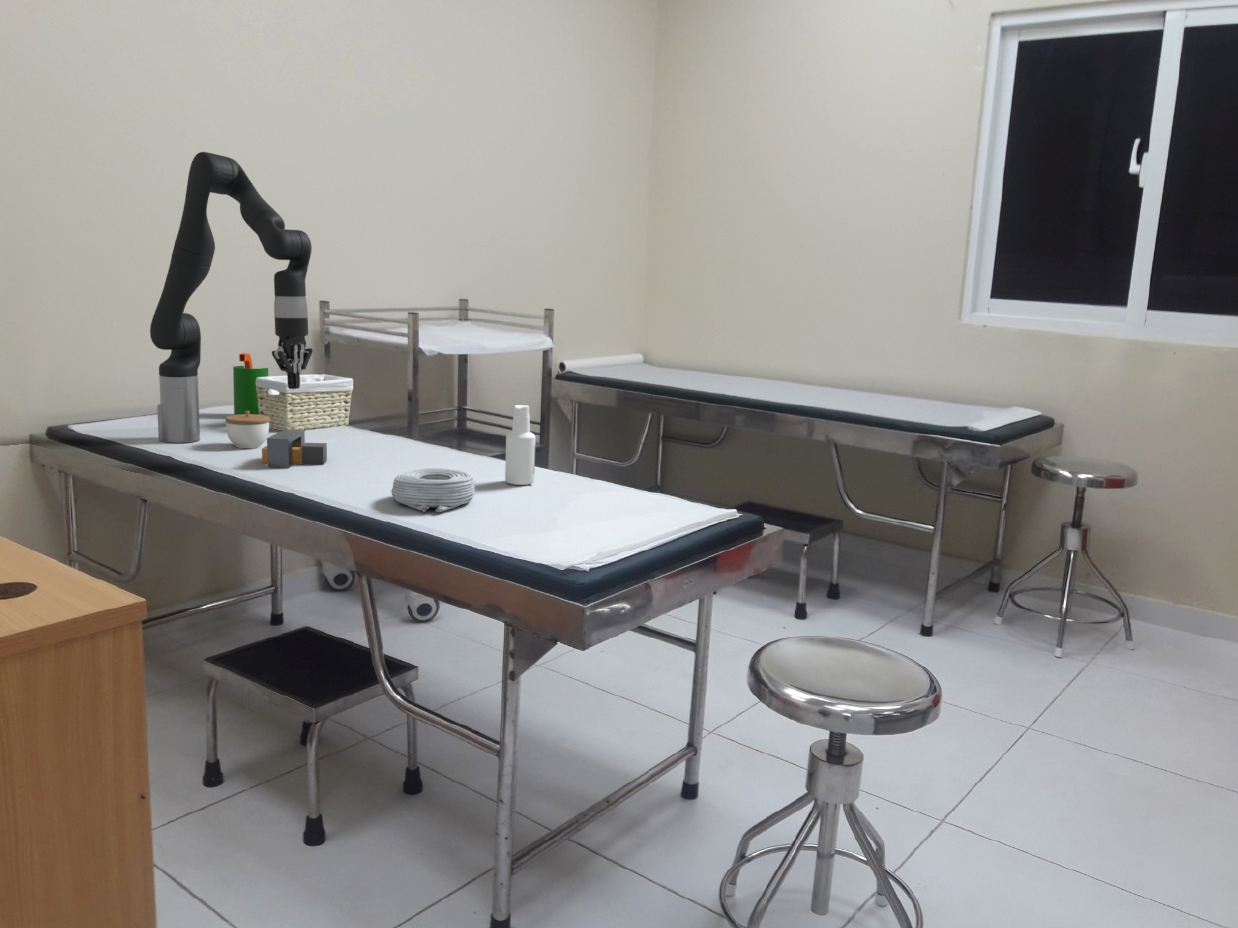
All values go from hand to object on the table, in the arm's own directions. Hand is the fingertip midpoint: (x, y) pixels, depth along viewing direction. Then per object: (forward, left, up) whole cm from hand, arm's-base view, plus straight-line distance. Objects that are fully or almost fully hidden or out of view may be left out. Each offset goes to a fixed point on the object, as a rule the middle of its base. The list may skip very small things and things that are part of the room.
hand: (294, 388), depth 237 cm
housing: (-2, 0, -18) cm, 18 cm away
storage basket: (-12, +52, -19) cm, 56 cm away
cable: (+39, -32, -19) cm, 54 cm away
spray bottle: (+56, -11, -18) cm, 60 cm away
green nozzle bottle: (-32, +61, -18) cm, 71 cm away
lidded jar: (-17, +18, -18) cm, 31 cm away
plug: (+4, +1, -18) cm, 19 cm away
